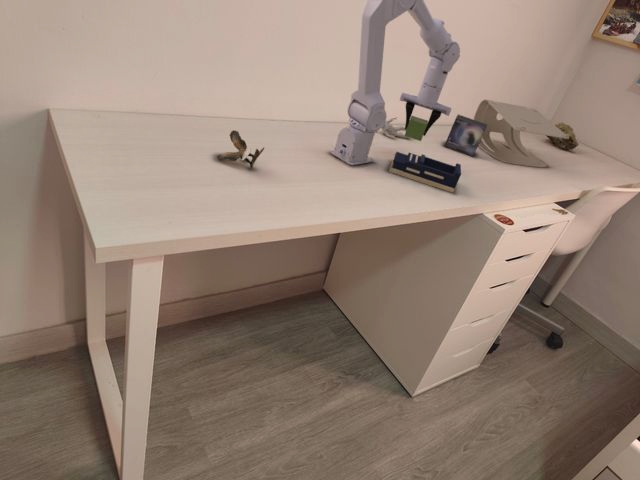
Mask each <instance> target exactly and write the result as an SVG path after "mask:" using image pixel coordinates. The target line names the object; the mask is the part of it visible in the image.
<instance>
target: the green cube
mask: <svg viewBox="0 0 640 480" xmlns="http://www.w3.org/2000/svg"><path fill="white" fill-rule="evenodd" d="M428 121H429V120H427V119H424V118H422V117H418V116H414V115H411V117H410V121H409V124H408V127H407V130H406V131H405V133H404V135H405V136H406V137H410V138H409V139H413V140H416V141H419V142H422V140H423V137H424V132H425V129H426V127H427V124H428ZM406 137H405V138H406Z"/></svg>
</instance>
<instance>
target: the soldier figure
mask: <svg viewBox="0 0 640 480" xmlns="http://www.w3.org/2000/svg"><path fill="white" fill-rule="evenodd" d="M398 119H399V117H398V116H394V117H391V118H390V119H388V120H386V121H385V123H384V125H383V127H382V128H381V130H382V132H383V134H384V135H385V136H386V137H389V138H391V139H395V138H396V137H401V138H406V139H411V138H410V137H406V136H405V133H403V132H400V131H404V132H406V130H405V126H396V127H394V126H393V124H391V123H392V122H393V121H394V120H397V121H398Z"/></svg>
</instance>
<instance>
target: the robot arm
mask: <svg viewBox="0 0 640 480" xmlns="http://www.w3.org/2000/svg"><path fill="white" fill-rule="evenodd" d="M406 12H407V13H408V14H409V15H410V16H411V18H412V19H413V20H414V21H415V23H416V24H417V25H418V26H419V28H420V29H419V36H420V38H421V39H422V40H423V42H424V44H425V46H427V48H428V56H429V57H430V59H429V63H428V65H427V68H426V71H425V73H424V77H423V79H422V81H421V85H420V88H419V91H418V94H417V95H413V94H409V93H406V92H405V93H404V92H401V95H400V97H399V101H401V102H404V103H405V124H404V125H405V126H404V128H405V130H407V127H408V124H409V121H410V119H411V116H413V115H412V114H413V113H414V112H413V111H414V109H415V106H417V107H420V108H424V109H427V110H430V111H431V113H430V116H429V119H428V120H427V121H428V123H427V127H426V129H425V132H424V135H423V137H425V136H427V133H428V131H429V130H430V129H431V127H432V126H433V125H434V124H435V123H436V122H437V121H438V120H439V119H440V118H441V116H442V114H443V115H445V116H446V117H447V116H450V114H451V112H452V107H449V106H447V105H444V104H442V103H439V102H438V101H439V98H440V95H441V93H442V90H443V87H444V86H445V82H446V80H447V78H448V75H449V73H450V72H451V70H453V67H454V65H455V64H456V63H457V62H458V61H459V59H460V57H461V48H460V44H459V43H458V42H457V41H454V40H453V39H452V35H451V33H450V32H448V31H447V29H446V28H445V26H444V25H445V21H444V20H442V19H439V18H436V17H433V16H432V14H431V12H430V10H429V7H428V6H427V4H426V3H425V1H424V0H366V4H365V6H364V9H363V12H362V15H361V16H362V17H361V29H360V30H361V31H360V48H359V64H358V65H359V66H358V67H359V69H358V84H357V90H355V91H354V92H352V93H351V94H350V101H349V103H348V107H347V115H348V117H349V118H348V122H349V123H348V125H347V126H346V127H343V128H342V129H341V130H340V131H339V132H338V135H337V139H336V143H335V146H334V148H333V149H334V150H332V151H331V152H330V154H331V155H332V156H335V158H338V159H339V160H341V161H343V162H344V163H346V164H348V165H349V166H356V165H362V164H363V165H364V164H367V163H373V161H374V160H373V159H372V158H370V157H369V153H370V150H371V147H372V144H373V140H374V137H375V134H376V133H378V131H379V130H382V127H383V125H384V123H385V121H387V111H386V108H385V105H386V103H385V100H384V98H383V96H382V94H381V84H382V83H381V82H382V73H383V71H382V70H383V61H384V49H385V39H386V26H387V25H388V24H389V23H390V22H392V21H394V20H395V19H397V18H399V16H401V15H404V13H406Z"/></svg>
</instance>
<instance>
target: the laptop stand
mask: <svg viewBox="0 0 640 480" xmlns="http://www.w3.org/2000/svg"><path fill="white" fill-rule="evenodd" d="M498 115H500V116H501V119H498V118H497V117H498ZM472 119H473V120H476V121H479V122H481V123H484V124H487V127H486V130H485V132H484V134H483V136H482V138H481V141H480V143H479V145H478V147H479V148H480V149H481V150H482V151H484V152H485V153H486V154H488V155H490V156H491V157H493V158H494V159H495V160H498V161H500V162H503V163H506V164H507V163H508V164H512V165H513V164H514V165H519V166H525V167H535V168H546V167H547V164H546V163H545V162H544V161H542V160H540V159H539V158H537V157H535V156H534V155H532V154H531V153H530V152H529V150H527V149H526V148H525V146H524V145H523V143H522V141H521V132H522V133H523V132H524V133H527V134H528V133H529V134H534V135H541V136H546V135H547V136H553V137H559V138H565V139H569V136H570V135H569V134H564V133H563V132H562V131H561V130H560V129H558V128H557V127H556V126H555V125H556V124H554V123H552V122H551V120H549V119H548V118H547V117H546V116H545V115H544V114H542V113H541V112H539V111H538V110H537V109H536V108H533V107H528V106H527V107H526V106H522V105H517V104H511V103H507V102H502V101H497V100H496V101H495V100H491V99H483V100H481V101H480V103H479V104H478V106H477V109H476V111H475V113H474V116H473V118H472ZM491 133H498V134H501V135H502V136H503V139H504V142H505V143H506V145H507V146H508V147H507V146H505V145H504V144H502V143H500V142H499V141H496V140H495V141H494V140H492V138H491V136H490V134H491ZM547 136H546V137H547Z"/></svg>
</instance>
